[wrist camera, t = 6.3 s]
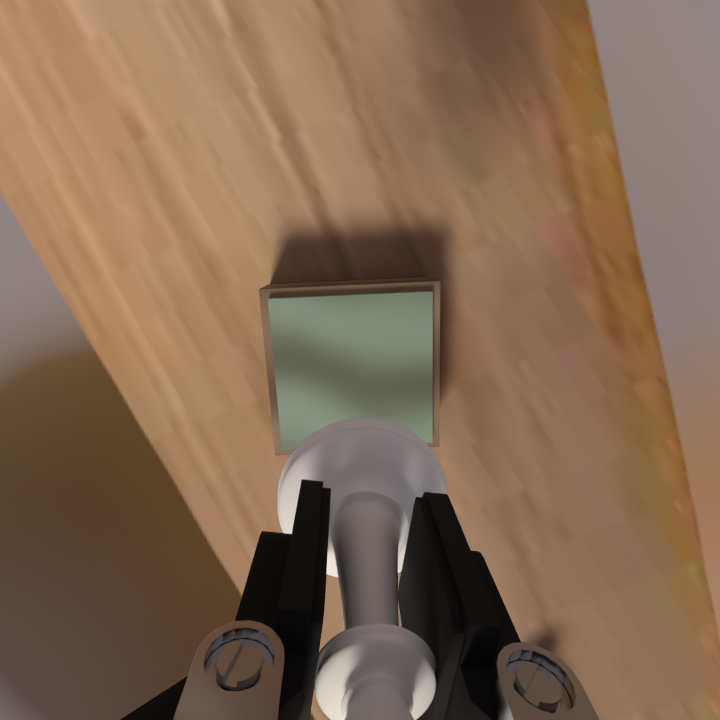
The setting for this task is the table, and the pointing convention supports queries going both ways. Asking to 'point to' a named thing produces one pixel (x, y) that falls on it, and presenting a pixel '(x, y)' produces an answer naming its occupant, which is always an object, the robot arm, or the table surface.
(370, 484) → the chess piece
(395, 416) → the pedestal
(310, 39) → the table surface
